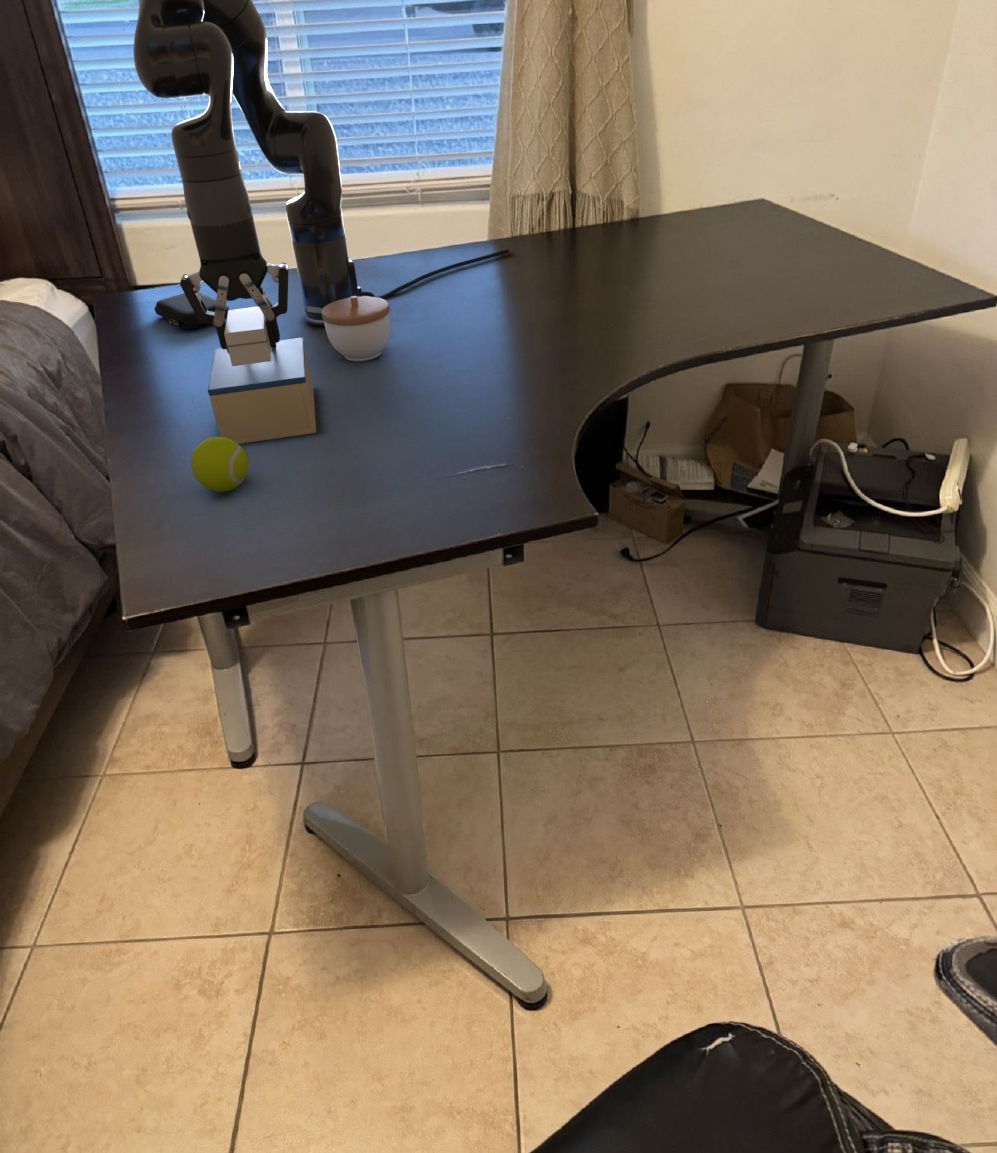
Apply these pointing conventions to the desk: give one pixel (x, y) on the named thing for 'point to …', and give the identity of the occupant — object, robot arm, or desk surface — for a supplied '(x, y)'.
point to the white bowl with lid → (358, 326)
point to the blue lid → (259, 369)
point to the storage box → (266, 412)
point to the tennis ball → (219, 464)
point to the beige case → (247, 336)
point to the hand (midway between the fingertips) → (252, 347)
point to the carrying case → (183, 310)
